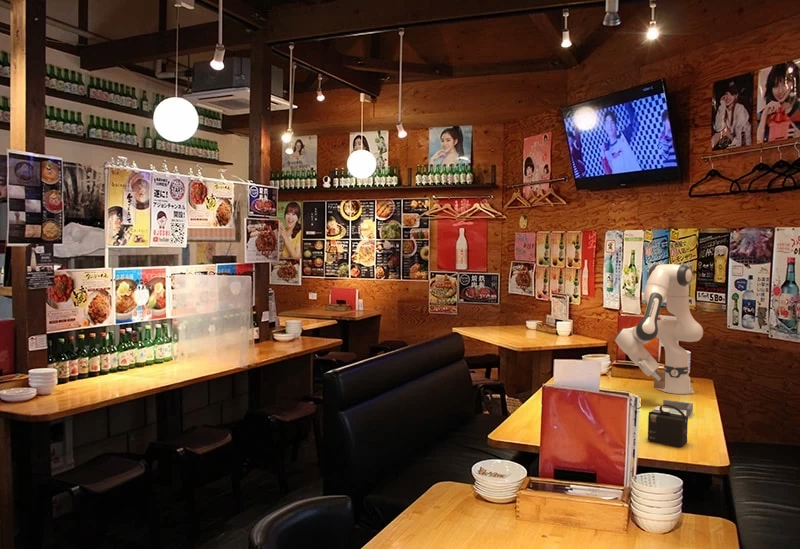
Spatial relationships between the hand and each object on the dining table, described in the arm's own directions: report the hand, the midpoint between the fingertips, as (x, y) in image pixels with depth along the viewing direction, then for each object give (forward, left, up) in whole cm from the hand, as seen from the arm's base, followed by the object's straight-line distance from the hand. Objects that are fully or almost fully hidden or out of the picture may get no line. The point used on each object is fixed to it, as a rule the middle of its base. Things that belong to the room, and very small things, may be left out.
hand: (661, 378), depth 316 cm
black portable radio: (+61, +11, -14) cm, 64 cm away
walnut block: (0, -1, -4) cm, 4 cm away
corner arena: (+12, +7, -13) cm, 19 cm away
